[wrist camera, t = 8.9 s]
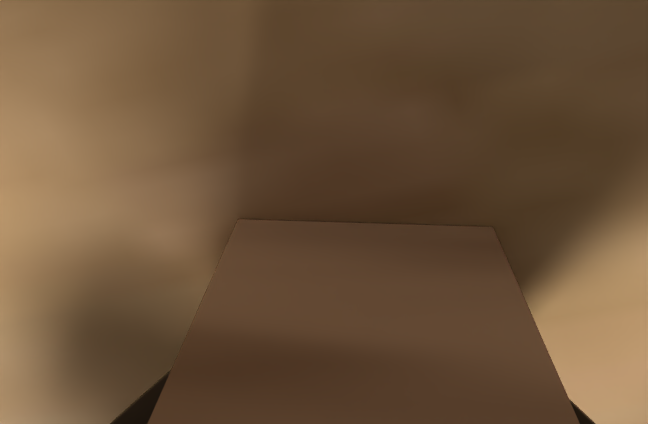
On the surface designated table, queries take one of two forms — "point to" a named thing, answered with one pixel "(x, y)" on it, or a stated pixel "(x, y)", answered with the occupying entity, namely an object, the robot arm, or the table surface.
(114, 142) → the table surface
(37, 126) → the table surface
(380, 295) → the brown wooden block
